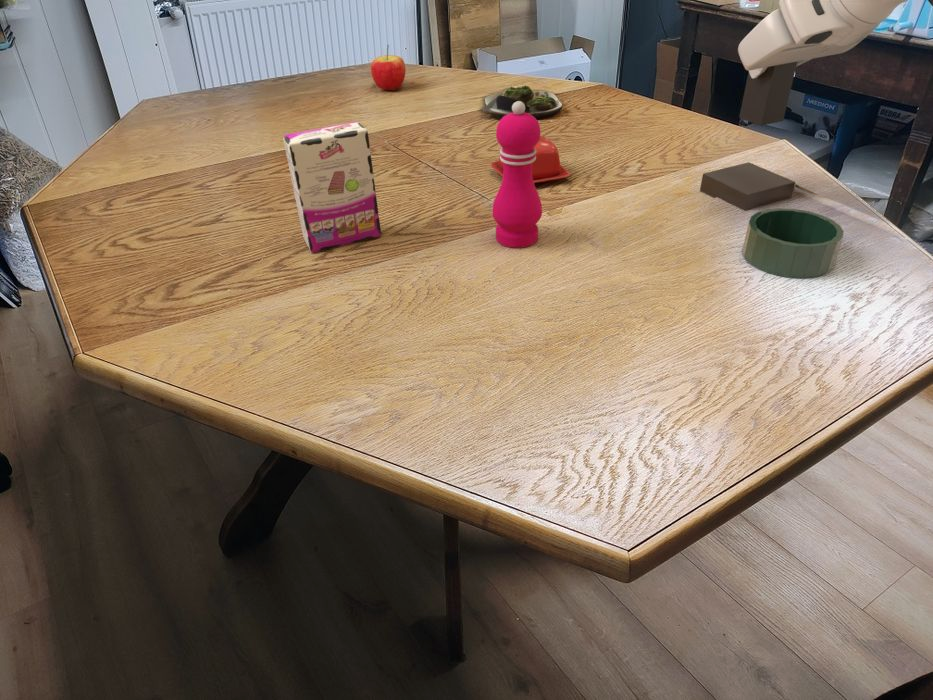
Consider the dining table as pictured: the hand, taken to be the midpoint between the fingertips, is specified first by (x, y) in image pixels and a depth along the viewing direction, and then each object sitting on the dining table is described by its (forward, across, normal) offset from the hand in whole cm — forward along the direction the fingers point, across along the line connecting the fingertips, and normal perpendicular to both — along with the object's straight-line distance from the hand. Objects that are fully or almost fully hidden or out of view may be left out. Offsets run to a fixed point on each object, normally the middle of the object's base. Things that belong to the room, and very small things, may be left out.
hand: (768, 71), depth 101 cm
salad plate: (+55, +8, -27) cm, 62 cm away
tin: (0, +11, +28) cm, 30 cm away
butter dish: (+31, +26, -3) cm, 41 cm away
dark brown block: (+4, 0, +5) cm, 7 cm away
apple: (+78, +27, -50) cm, 96 cm away
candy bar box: (+26, +63, +2) cm, 68 cm away
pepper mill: (+17, +40, +11) cm, 45 cm away
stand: (+13, 0, +14) cm, 19 cm away
